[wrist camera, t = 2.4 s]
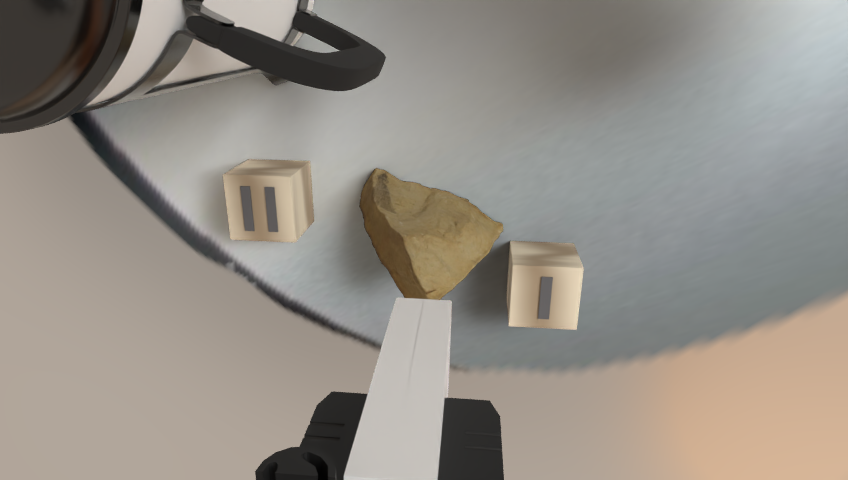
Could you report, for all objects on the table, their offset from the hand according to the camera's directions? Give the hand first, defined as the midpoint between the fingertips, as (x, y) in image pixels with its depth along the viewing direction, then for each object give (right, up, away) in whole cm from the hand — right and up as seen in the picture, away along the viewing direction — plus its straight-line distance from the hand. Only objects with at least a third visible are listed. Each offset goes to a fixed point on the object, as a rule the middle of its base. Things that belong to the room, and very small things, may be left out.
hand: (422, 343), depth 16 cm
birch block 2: (+9, 0, +31) cm, 32 cm away
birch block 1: (-11, +7, +31) cm, 34 cm away
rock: (+1, +5, +30) cm, 31 cm away
